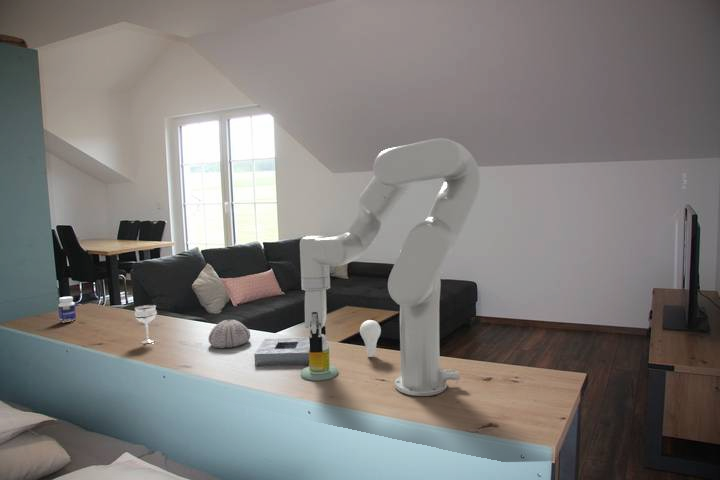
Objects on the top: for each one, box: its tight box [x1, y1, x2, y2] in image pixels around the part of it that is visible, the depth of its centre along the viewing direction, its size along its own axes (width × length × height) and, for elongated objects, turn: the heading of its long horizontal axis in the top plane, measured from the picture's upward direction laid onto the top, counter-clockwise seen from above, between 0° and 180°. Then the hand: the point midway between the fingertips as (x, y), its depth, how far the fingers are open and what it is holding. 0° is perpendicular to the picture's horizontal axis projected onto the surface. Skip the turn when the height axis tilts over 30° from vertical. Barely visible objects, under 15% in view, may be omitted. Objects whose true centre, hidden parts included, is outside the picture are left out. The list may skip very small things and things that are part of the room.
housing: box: [253, 337, 310, 367], centre depth 143 cm, size 16×14×4 cm
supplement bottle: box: [308, 334, 331, 374], centre depth 129 cm, size 5×5×10 cm
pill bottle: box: [58, 295, 77, 321], centre depth 192 cm, size 6×6×10 cm
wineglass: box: [134, 304, 158, 343], centre depth 161 cm, size 7×7×12 cm
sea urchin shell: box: [207, 319, 251, 349], centre depth 157 cm, size 13×14×8 cm
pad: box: [300, 365, 339, 382], centre depth 129 cm, size 10×10×1 cm
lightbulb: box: [359, 319, 382, 358], centre depth 140 cm, size 6×6×11 cm
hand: (318, 346), depth 128 cm, fingers open, 9 cm apart
